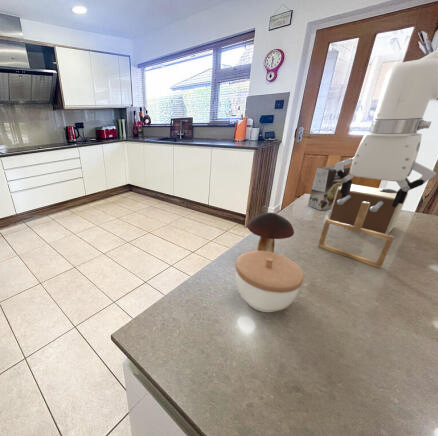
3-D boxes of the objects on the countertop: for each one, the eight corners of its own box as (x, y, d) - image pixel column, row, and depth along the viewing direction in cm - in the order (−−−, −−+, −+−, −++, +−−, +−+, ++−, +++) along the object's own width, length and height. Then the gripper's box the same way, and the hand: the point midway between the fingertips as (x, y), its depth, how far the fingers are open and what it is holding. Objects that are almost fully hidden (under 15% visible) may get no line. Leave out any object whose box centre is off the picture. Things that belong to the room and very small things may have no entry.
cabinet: (393, 227, 78) (408, 193, 73) (378, 245, 69) (394, 208, 64) (336, 213, 90) (345, 183, 85) (317, 227, 81) (326, 194, 75)
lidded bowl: (286, 334, 44) (298, 289, 40) (222, 303, 52) (227, 263, 47) (300, 296, 53) (311, 255, 48) (243, 274, 60) (249, 237, 56)
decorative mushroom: (240, 250, 71) (246, 204, 64) (280, 254, 68) (291, 206, 61) (243, 272, 61) (250, 221, 55) (290, 278, 58) (304, 224, 52)
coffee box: (321, 211, 92) (332, 170, 85) (306, 205, 98) (316, 167, 91) (339, 207, 94) (351, 167, 87) (324, 202, 100) (334, 164, 93)
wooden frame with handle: (381, 266, 60) (406, 209, 54) (379, 268, 60) (405, 211, 53) (319, 245, 71) (334, 195, 64) (317, 246, 70) (332, 196, 63)
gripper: (458, 125, 46) (422, 205, 54) (350, 125, 59) (333, 189, 67) (453, 129, 43) (415, 215, 50) (339, 129, 56) (322, 196, 63)
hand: (368, 200), depth 58 cm, fingers open, 9 cm apart
